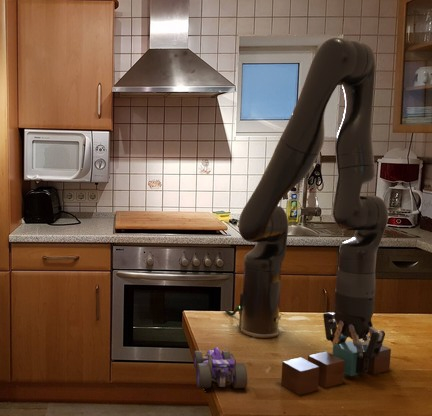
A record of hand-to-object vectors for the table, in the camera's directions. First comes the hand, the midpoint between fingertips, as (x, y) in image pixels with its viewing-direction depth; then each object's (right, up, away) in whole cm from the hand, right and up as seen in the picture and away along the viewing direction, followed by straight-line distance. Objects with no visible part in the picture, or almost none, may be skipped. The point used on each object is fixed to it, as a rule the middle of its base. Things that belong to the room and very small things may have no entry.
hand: (349, 367), depth 112 cm
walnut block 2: (-6, -2, -3) cm, 7 cm away
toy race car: (-29, -2, 0) cm, 29 cm away
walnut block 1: (-13, -2, -6) cm, 14 cm away
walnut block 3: (+6, -1, +3) cm, 7 cm away
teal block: (0, 0, 0) cm, 0 cm away
